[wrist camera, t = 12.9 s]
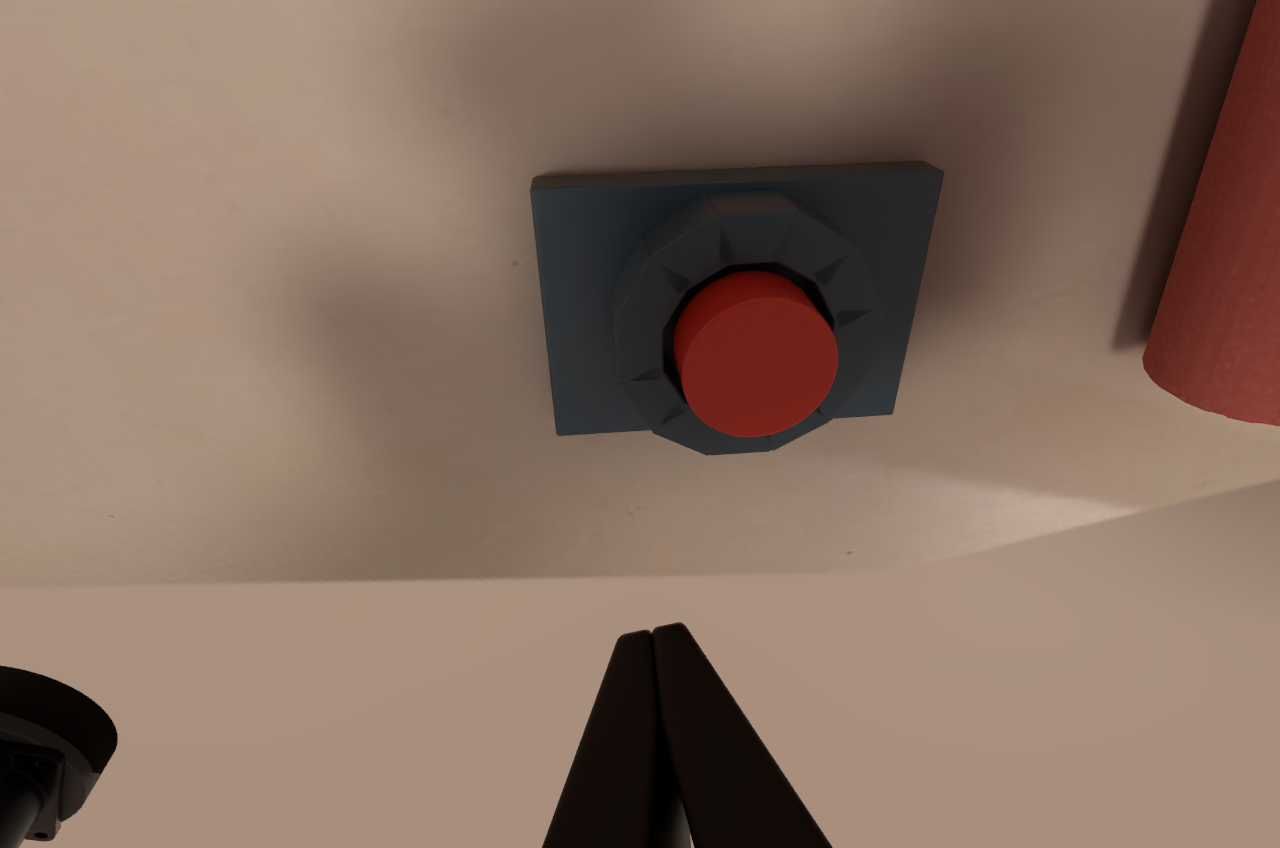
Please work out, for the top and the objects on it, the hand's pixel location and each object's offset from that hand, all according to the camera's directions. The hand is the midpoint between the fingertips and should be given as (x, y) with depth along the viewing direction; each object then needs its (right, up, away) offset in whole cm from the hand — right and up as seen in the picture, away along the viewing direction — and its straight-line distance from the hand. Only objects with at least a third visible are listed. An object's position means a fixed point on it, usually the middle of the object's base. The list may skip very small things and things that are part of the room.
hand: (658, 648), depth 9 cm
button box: (+2, +6, +10) cm, 12 cm away
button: (+2, +5, +8) cm, 10 cm away
